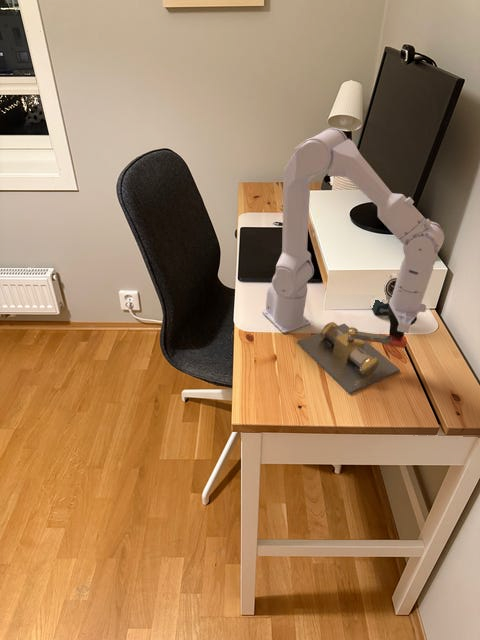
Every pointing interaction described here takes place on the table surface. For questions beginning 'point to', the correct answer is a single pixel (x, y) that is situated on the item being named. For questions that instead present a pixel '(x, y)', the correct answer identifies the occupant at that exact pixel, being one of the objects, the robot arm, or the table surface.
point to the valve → (347, 358)
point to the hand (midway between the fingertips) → (394, 338)
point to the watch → (389, 286)
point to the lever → (377, 338)
